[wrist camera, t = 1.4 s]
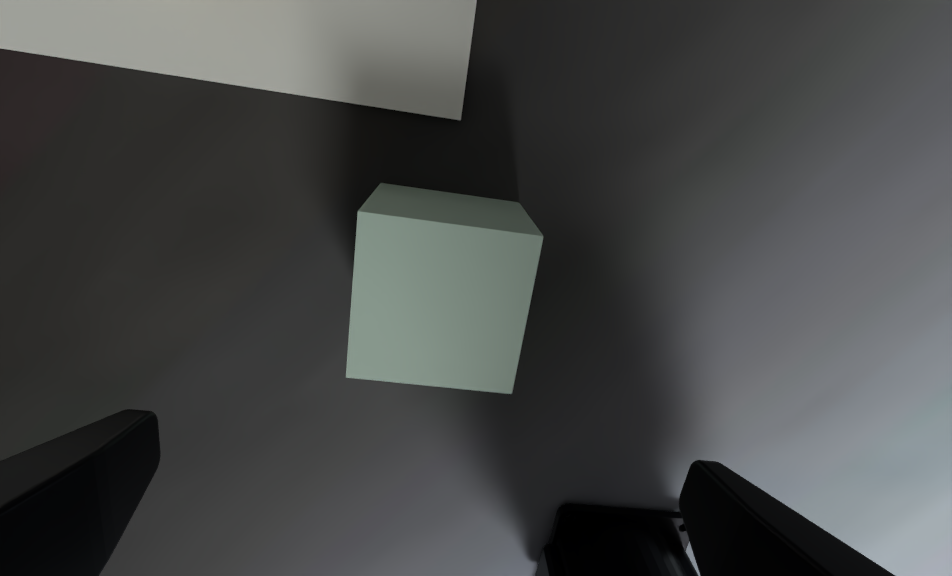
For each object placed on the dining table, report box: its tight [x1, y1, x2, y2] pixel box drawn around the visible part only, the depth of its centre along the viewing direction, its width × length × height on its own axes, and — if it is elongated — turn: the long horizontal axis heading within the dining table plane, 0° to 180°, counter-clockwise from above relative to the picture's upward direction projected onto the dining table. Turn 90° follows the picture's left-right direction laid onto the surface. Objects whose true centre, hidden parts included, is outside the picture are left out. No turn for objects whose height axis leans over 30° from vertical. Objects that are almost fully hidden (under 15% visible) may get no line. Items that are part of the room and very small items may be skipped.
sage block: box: [346, 183, 544, 394], centre depth 17 cm, size 5×5×5 cm
